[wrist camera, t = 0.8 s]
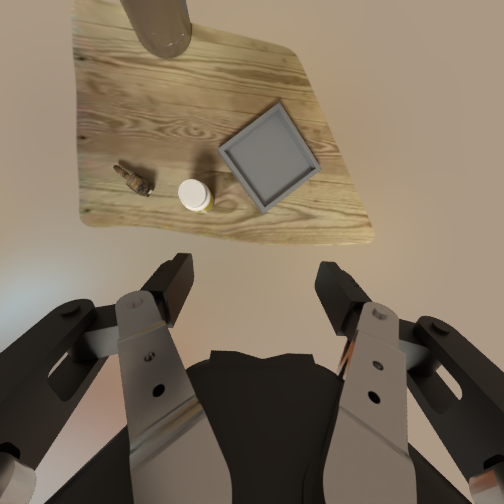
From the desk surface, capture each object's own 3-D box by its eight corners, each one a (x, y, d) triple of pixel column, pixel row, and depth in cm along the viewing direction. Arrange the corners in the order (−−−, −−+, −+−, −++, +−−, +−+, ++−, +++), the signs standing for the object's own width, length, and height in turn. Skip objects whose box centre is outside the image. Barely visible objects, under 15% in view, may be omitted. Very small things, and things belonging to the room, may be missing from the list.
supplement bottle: (209, 185, 35) (202, 171, 26) (217, 209, 35) (213, 203, 27) (185, 193, 34) (170, 181, 26) (194, 217, 35) (182, 213, 27)
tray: (218, 153, 34) (217, 149, 32) (276, 109, 34) (279, 102, 32) (262, 214, 37) (263, 213, 35) (316, 172, 37) (321, 169, 35)
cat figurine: (154, 204, 34) (139, 198, 30) (121, 179, 34) (102, 169, 30) (163, 192, 34) (149, 184, 30) (130, 167, 34) (112, 155, 30)
